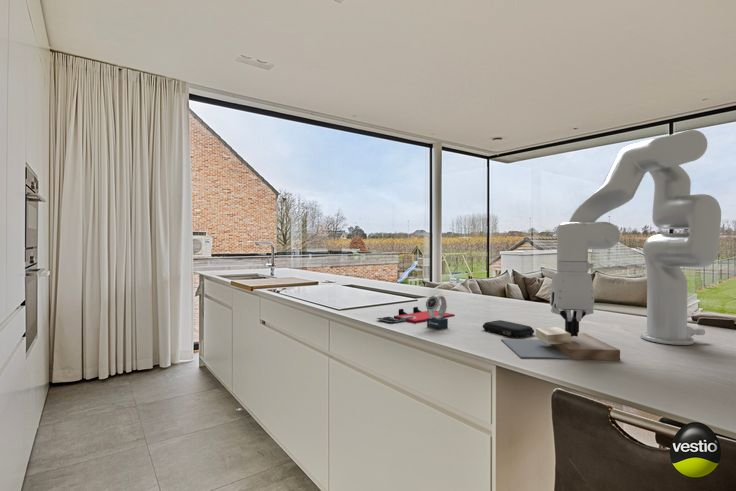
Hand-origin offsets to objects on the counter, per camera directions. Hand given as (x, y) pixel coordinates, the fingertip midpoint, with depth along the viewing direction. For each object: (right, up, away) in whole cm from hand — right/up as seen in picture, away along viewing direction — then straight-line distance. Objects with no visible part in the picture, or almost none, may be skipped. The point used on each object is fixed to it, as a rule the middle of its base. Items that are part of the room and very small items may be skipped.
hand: (571, 335), depth 106 cm
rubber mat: (-10, -4, +1) cm, 11 cm away
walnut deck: (+2, -4, 0) cm, 4 cm away
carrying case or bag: (-11, -4, +20) cm, 23 cm away
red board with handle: (-37, -4, +45) cm, 59 cm away
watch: (-32, -4, +28) cm, 43 cm away
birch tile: (-5, -1, 0) cm, 5 cm away
